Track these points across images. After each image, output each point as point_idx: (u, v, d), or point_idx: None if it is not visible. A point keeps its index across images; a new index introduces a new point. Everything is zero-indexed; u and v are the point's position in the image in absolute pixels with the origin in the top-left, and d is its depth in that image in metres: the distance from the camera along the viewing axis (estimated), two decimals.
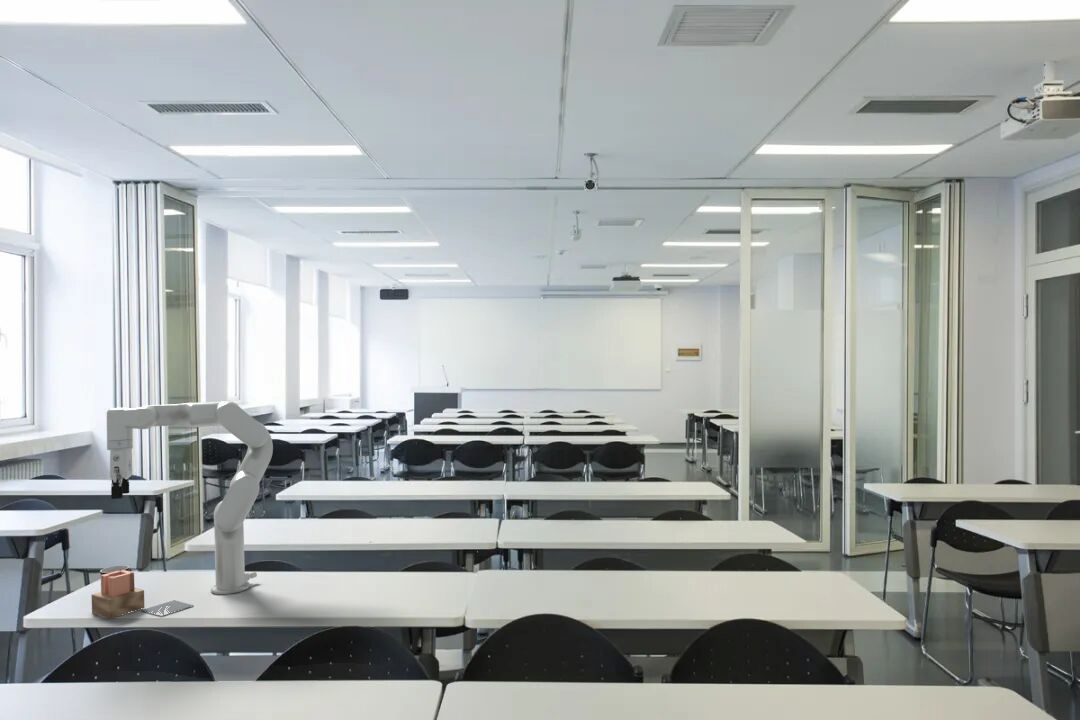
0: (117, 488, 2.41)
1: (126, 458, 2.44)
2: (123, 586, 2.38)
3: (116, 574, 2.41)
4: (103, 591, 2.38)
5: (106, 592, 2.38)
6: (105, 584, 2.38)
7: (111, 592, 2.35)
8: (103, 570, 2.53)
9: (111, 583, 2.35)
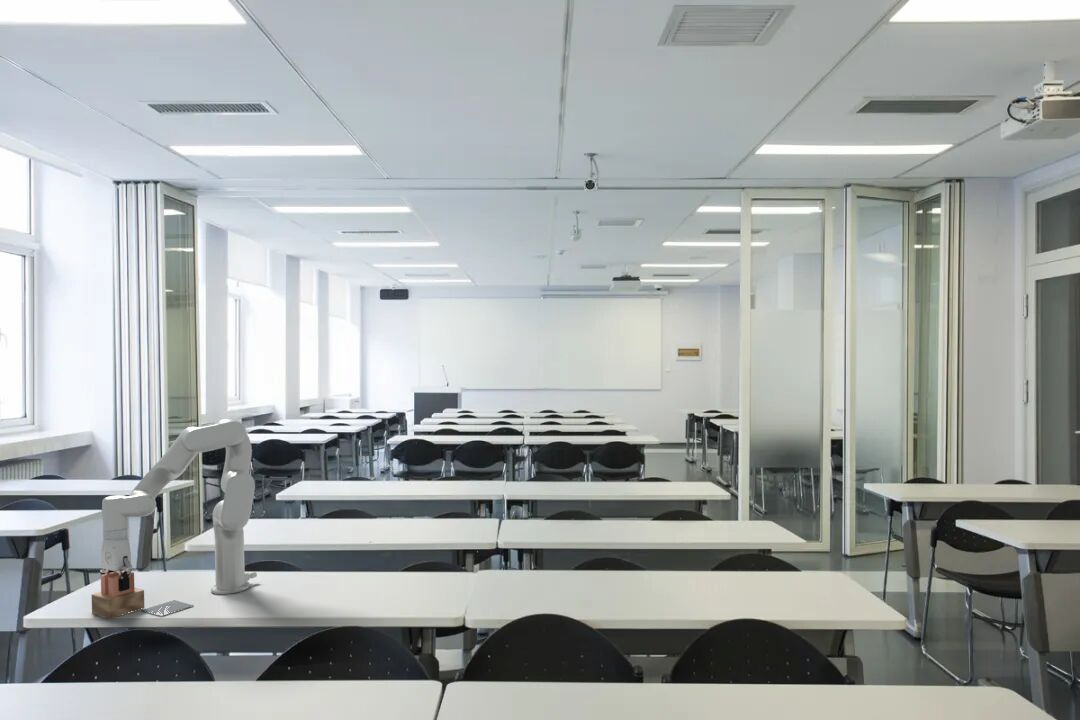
0: None
1: (103, 547, 2.39)
2: None
3: (116, 574, 2.41)
4: (103, 591, 2.38)
5: (106, 592, 2.38)
6: (105, 584, 2.38)
7: (111, 592, 2.35)
8: (103, 570, 2.53)
9: (111, 583, 2.35)
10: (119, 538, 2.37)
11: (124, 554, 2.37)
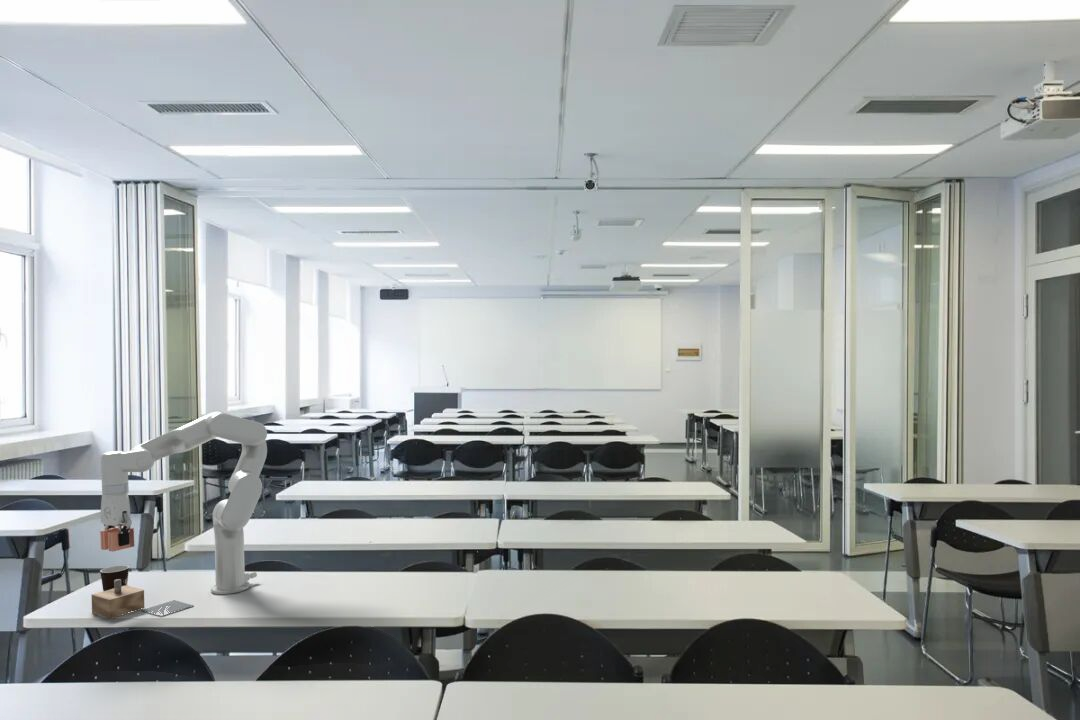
0: None
1: (102, 502, 2.39)
2: None
3: (116, 530, 2.41)
4: (103, 546, 2.38)
5: (106, 547, 2.38)
6: (105, 539, 2.38)
7: (111, 547, 2.35)
8: (103, 570, 2.53)
9: (111, 538, 2.35)
10: (118, 493, 2.37)
11: (123, 509, 2.37)
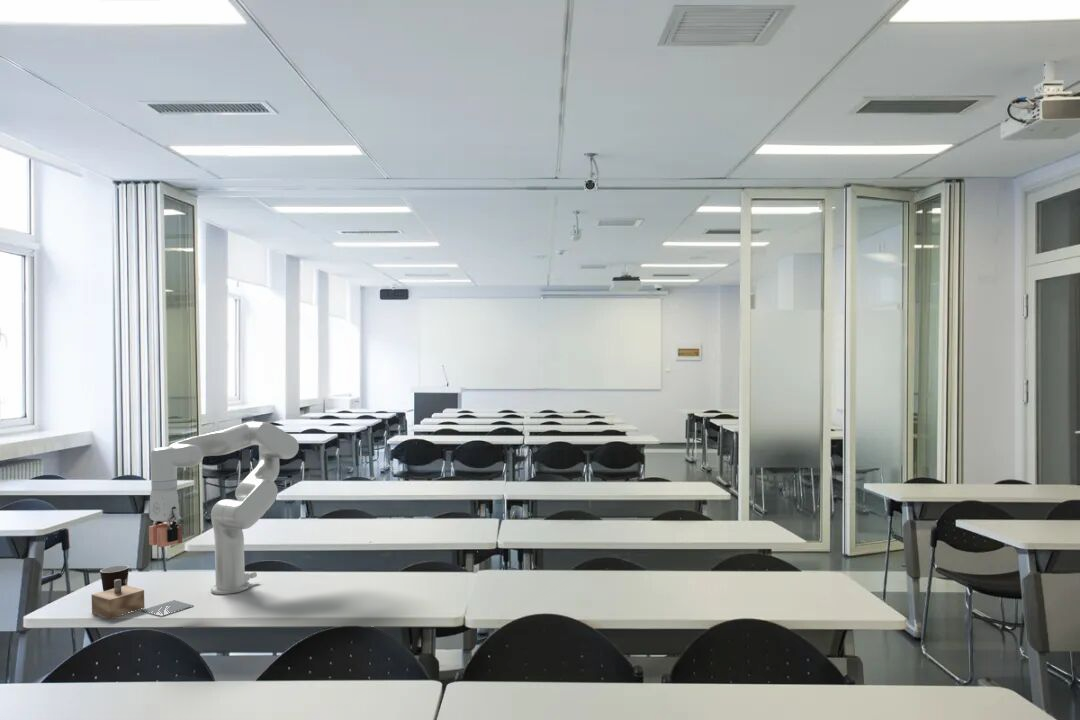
0: None
1: (151, 498, 2.40)
2: None
3: (164, 526, 2.42)
4: (151, 542, 2.38)
5: (154, 543, 2.38)
6: (153, 535, 2.38)
7: (160, 542, 2.36)
8: (103, 570, 2.53)
9: (160, 533, 2.35)
10: (168, 489, 2.37)
11: (173, 505, 2.37)
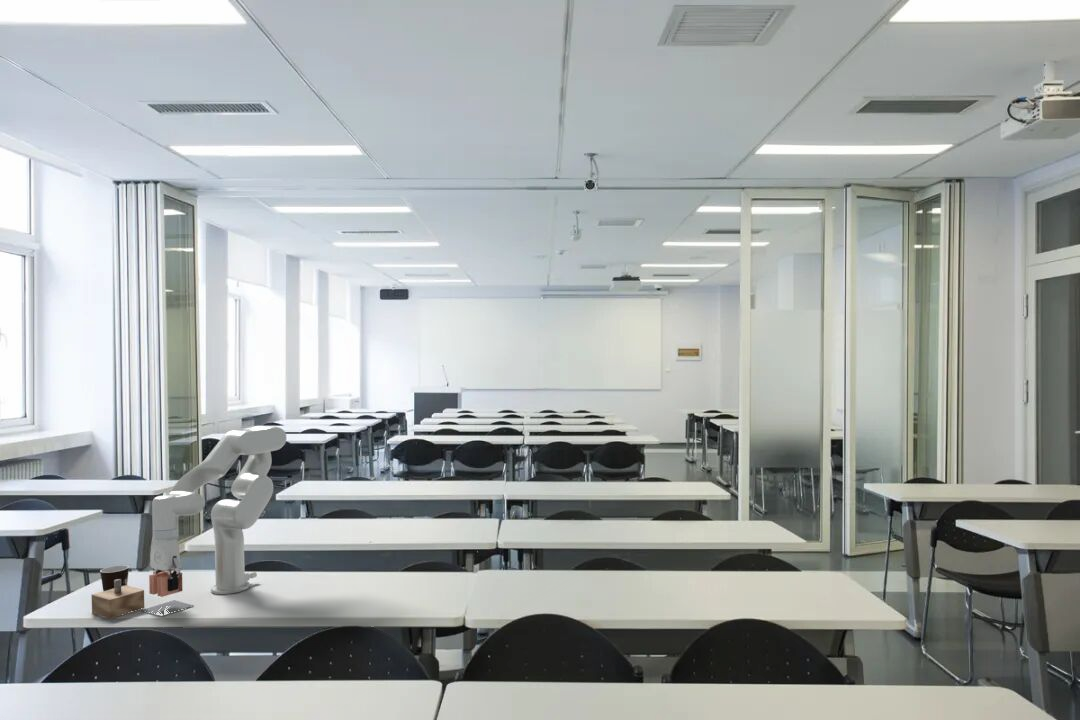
0: None
1: (152, 547, 2.40)
2: None
3: (164, 574, 2.42)
4: (152, 591, 2.38)
5: (155, 592, 2.38)
6: (154, 584, 2.38)
7: (160, 592, 2.35)
8: (103, 570, 2.53)
9: (161, 583, 2.35)
10: (169, 538, 2.37)
11: (173, 554, 2.37)
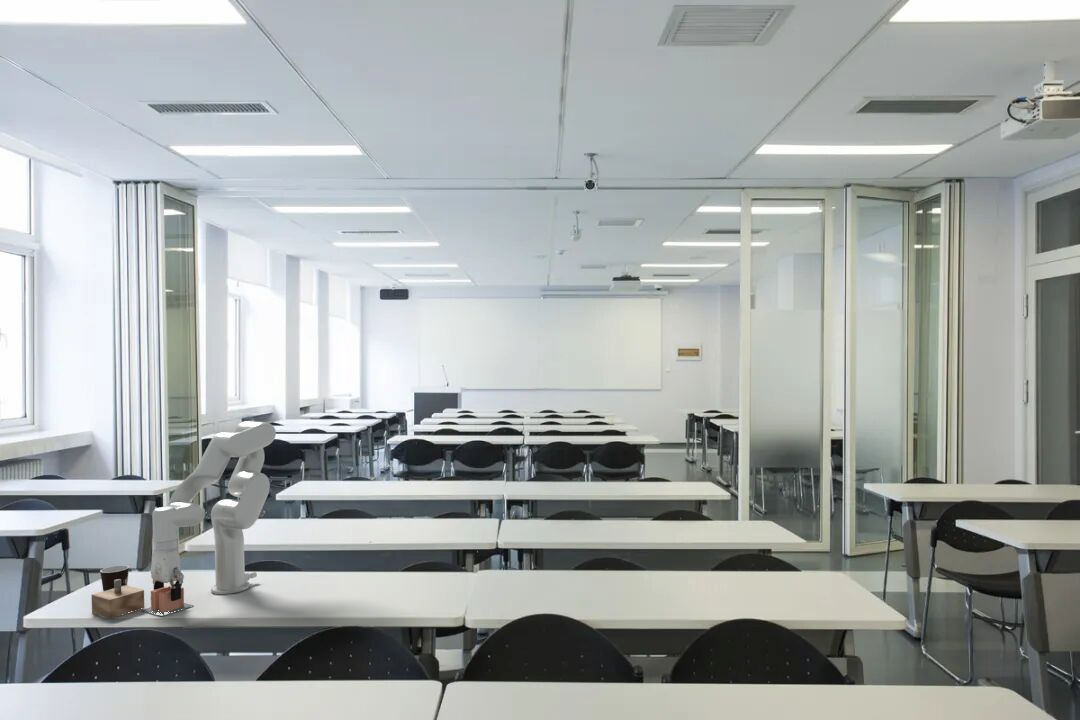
0: None
1: (152, 558, 2.40)
2: (173, 602, 2.38)
3: (165, 589, 2.42)
4: (153, 606, 2.38)
5: (156, 607, 2.38)
6: (155, 600, 2.38)
7: (162, 608, 2.36)
8: (103, 570, 2.53)
9: (162, 599, 2.36)
10: (169, 549, 2.38)
11: (174, 565, 2.37)
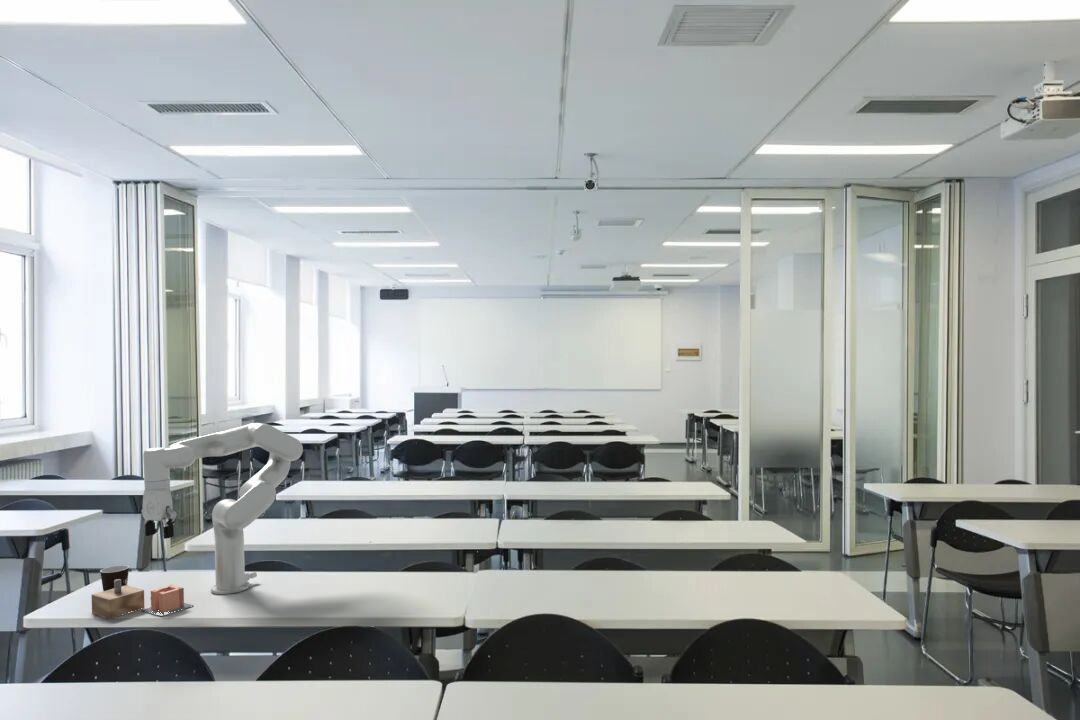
0: None
1: (144, 498, 2.44)
2: (173, 602, 2.38)
3: (165, 589, 2.42)
4: (153, 606, 2.38)
5: (156, 607, 2.38)
6: (155, 600, 2.38)
7: (162, 608, 2.36)
8: (103, 570, 2.53)
9: (162, 599, 2.36)
10: (161, 488, 2.42)
11: (167, 504, 2.42)
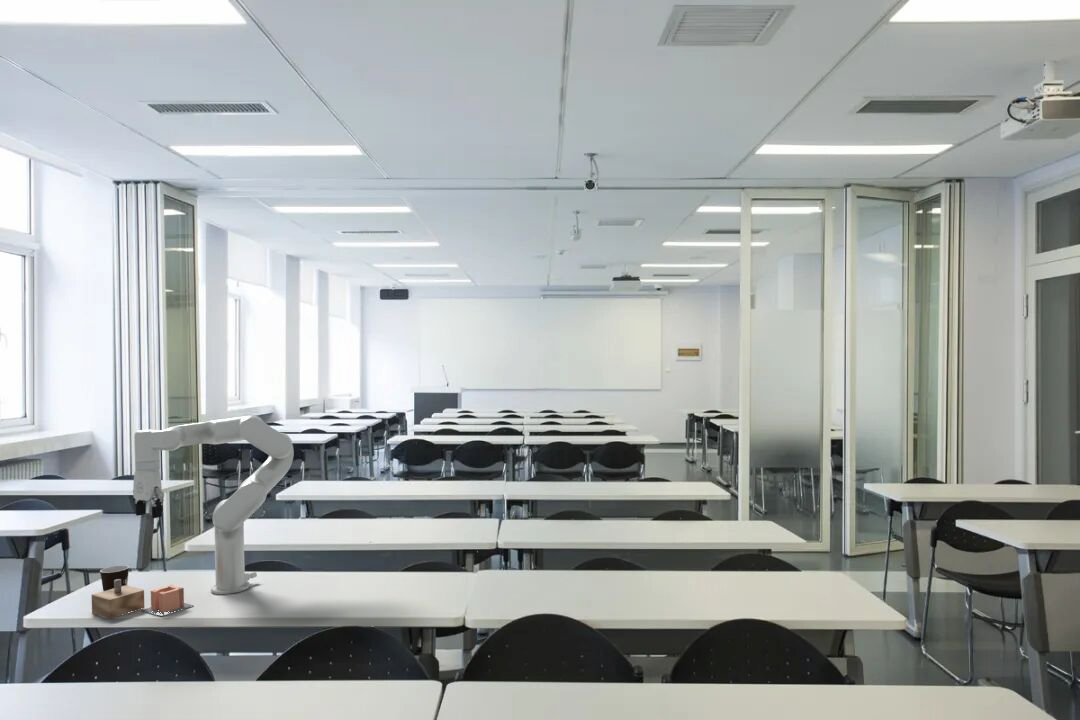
0: None
1: (134, 478, 2.50)
2: (173, 602, 2.38)
3: (165, 589, 2.42)
4: (153, 606, 2.38)
5: (156, 607, 2.38)
6: (155, 600, 2.38)
7: (162, 608, 2.36)
8: (103, 570, 2.53)
9: (162, 599, 2.36)
10: (150, 469, 2.48)
11: (155, 484, 2.48)
